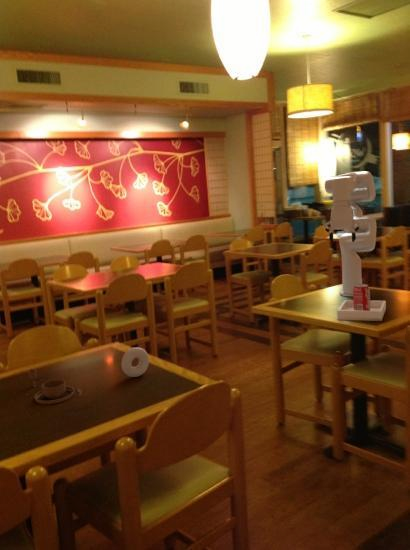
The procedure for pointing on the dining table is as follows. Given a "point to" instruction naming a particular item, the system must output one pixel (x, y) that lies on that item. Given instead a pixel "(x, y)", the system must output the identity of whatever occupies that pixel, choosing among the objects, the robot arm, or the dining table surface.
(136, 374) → the donut
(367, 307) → the soda can
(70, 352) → the dining table surface
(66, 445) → the dining table surface
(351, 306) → the tray
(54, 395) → the place setting
